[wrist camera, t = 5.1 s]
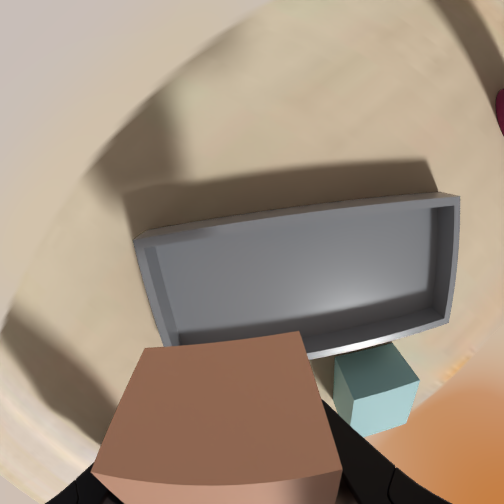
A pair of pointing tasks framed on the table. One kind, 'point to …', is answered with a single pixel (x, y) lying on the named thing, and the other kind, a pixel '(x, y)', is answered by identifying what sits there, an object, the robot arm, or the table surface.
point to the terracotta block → (221, 427)
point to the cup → (500, 109)
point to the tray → (306, 273)
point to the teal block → (374, 389)
